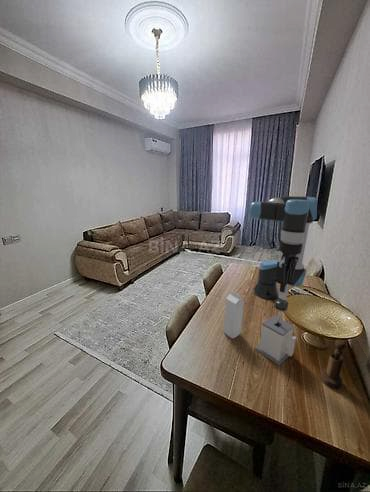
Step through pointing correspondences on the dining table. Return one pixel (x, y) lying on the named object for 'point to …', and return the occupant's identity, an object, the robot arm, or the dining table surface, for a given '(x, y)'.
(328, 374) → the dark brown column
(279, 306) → the dark gray domed cylinder
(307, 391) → the dining table surface
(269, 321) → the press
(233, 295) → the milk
